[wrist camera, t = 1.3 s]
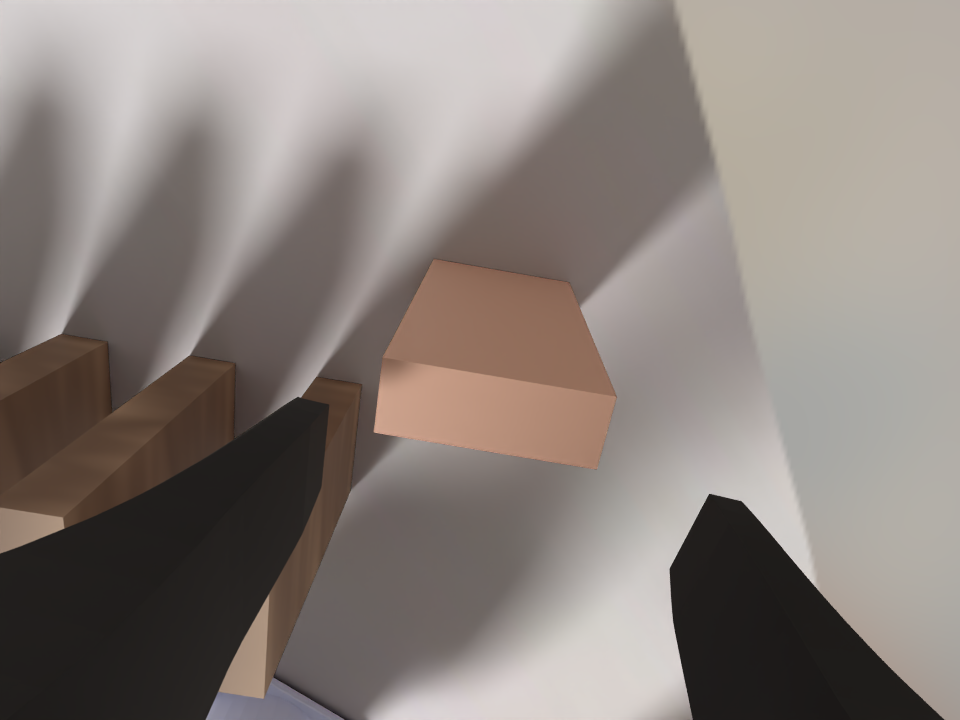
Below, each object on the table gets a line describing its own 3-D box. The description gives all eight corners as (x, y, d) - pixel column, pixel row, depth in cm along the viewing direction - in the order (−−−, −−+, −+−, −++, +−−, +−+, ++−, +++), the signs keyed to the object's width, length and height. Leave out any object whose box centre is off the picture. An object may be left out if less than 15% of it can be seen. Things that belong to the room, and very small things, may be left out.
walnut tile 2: (361, 384, 24) (271, 550, 15) (350, 490, 26) (263, 699, 16) (316, 376, 24) (197, 538, 15) (308, 483, 26) (197, 689, 16)
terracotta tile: (558, 328, 23) (596, 469, 13) (426, 305, 23) (373, 432, 13) (569, 282, 22) (616, 396, 13) (433, 259, 22) (382, 357, 13)
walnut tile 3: (235, 363, 24) (63, 517, 14) (233, 471, 26) (78, 670, 16) (189, 355, 24) (-14, 505, 14) (190, 464, 26) (11, 660, 16)
